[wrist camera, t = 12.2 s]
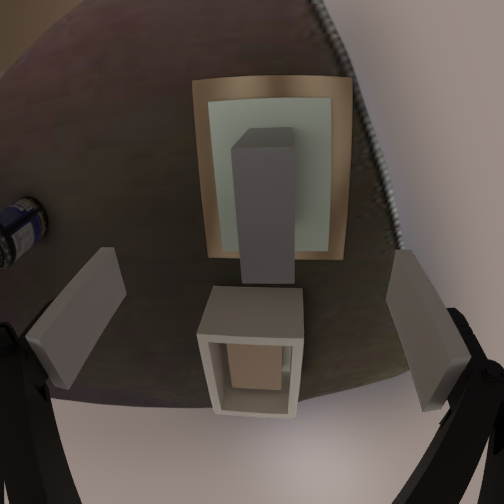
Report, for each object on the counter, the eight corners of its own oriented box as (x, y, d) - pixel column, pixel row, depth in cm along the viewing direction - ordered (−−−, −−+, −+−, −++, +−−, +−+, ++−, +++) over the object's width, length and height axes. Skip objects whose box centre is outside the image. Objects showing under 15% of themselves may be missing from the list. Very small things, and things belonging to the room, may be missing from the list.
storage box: (224, 367, 44) (214, 413, 37) (213, 285, 37) (196, 333, 30) (296, 370, 42) (295, 418, 35) (302, 288, 36) (304, 338, 29)
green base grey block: (226, 241, 33) (200, 310, 24) (213, 101, 26) (171, 111, 17) (326, 241, 32) (339, 312, 22) (327, 97, 25) (351, 103, 16)
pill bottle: (11, 212, 35) (-42, 250, 25) (29, 186, 33) (-31, 224, 23) (36, 246, 37) (-14, 291, 28) (56, 223, 35) (0, 270, 26)
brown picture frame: (209, 254, 35) (208, 257, 34) (193, 80, 26) (191, 80, 26) (342, 257, 33) (342, 259, 33) (351, 77, 25) (352, 77, 24)
